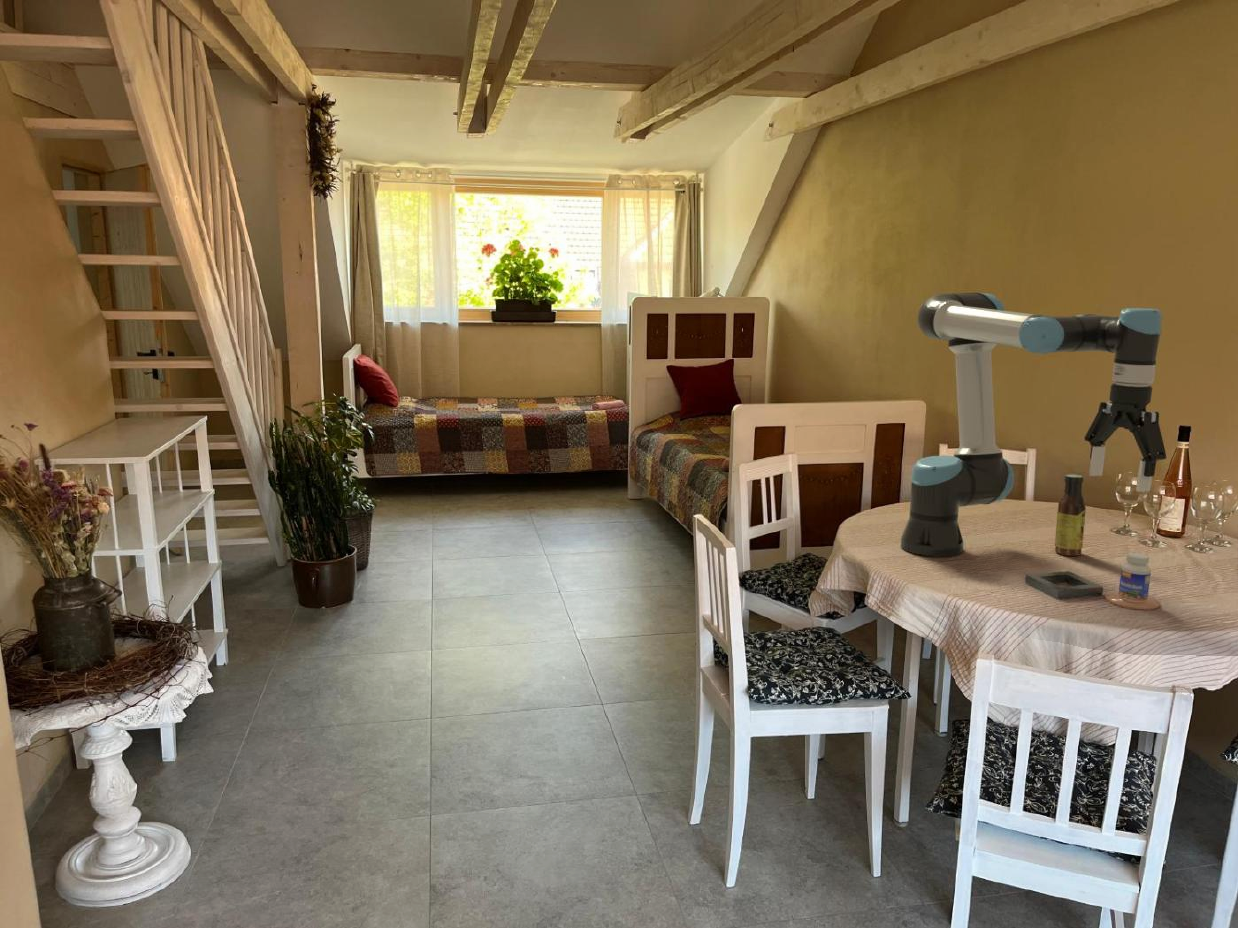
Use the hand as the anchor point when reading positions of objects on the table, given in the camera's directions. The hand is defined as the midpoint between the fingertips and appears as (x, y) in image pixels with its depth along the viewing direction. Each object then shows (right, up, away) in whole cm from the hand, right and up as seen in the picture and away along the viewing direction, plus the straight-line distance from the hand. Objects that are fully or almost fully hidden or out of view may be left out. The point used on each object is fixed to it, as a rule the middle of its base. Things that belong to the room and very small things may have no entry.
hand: (1118, 483), depth 189 cm
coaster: (+3, -25, 0) cm, 25 cm away
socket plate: (-8, -24, +8) cm, 26 cm away
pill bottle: (+3, -25, 0) cm, 25 cm away
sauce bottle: (+6, -18, +34) cm, 39 cm away
